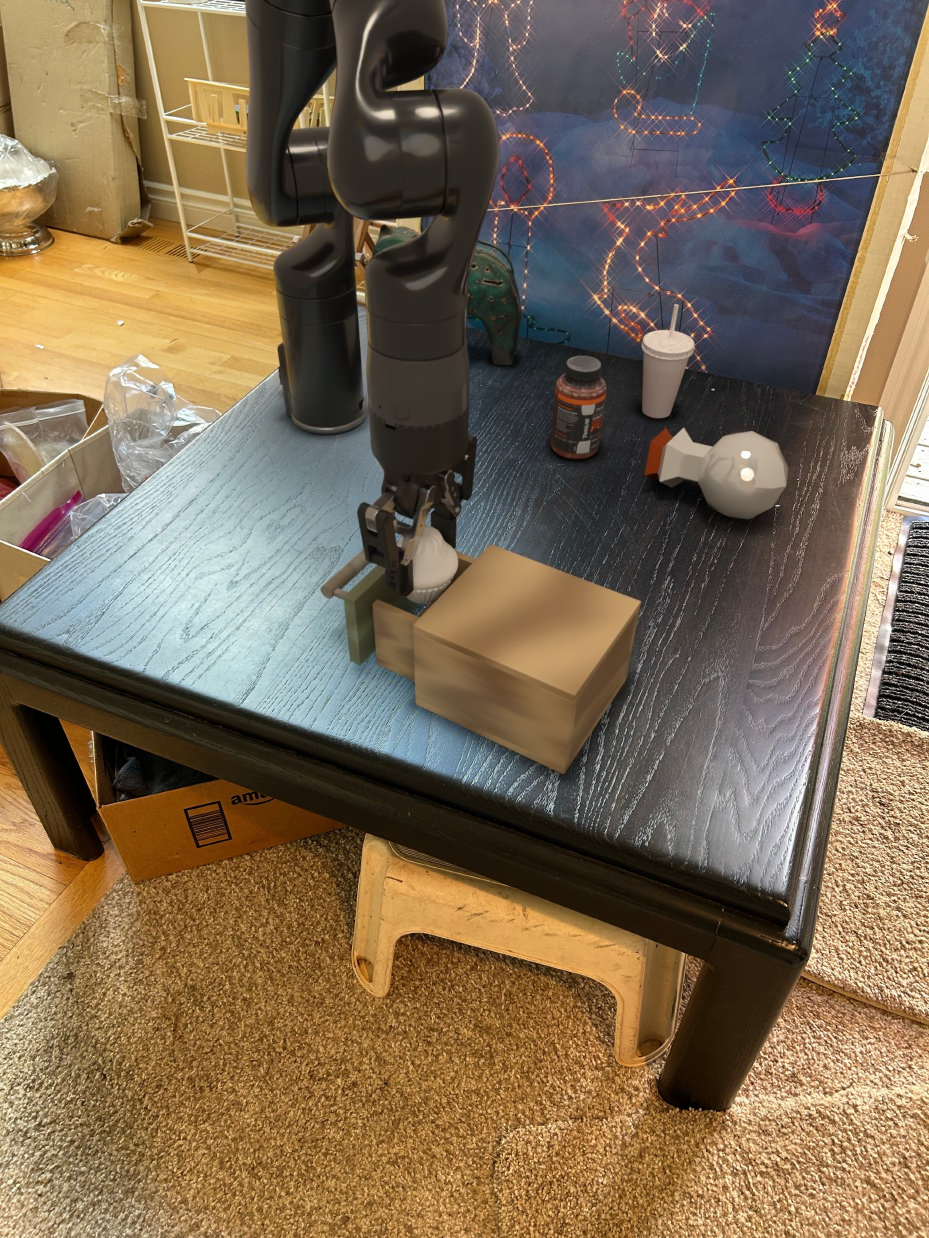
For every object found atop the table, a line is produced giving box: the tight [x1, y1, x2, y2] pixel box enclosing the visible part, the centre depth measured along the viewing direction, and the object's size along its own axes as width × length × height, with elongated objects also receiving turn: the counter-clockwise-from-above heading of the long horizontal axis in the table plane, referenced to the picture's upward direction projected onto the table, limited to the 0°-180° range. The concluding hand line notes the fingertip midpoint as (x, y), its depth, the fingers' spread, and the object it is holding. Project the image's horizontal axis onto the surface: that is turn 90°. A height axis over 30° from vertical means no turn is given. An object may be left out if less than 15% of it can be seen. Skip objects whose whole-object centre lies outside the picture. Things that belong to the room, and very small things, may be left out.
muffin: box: [397, 524, 458, 605], centre depth 78 cm, size 6×6×7 cm
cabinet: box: [413, 543, 642, 775], centre depth 77 cm, size 15×13×10 cm
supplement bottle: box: [550, 355, 608, 460], centre depth 107 cm, size 6×6×11 cm
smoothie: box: [641, 303, 695, 419], centre depth 113 cm, size 6×6×14 cm
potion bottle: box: [644, 427, 790, 520], centre depth 100 cm, size 9×10×15 cm
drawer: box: [320, 548, 477, 683], centre depth 81 cm, size 18×11×8 cm, turn 59°
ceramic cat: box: [371, 217, 522, 366], centre depth 122 cm, size 20×6×20 cm, turn 81°
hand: (422, 569), depth 78 cm, fingers closed on muffin, 6 cm apart
